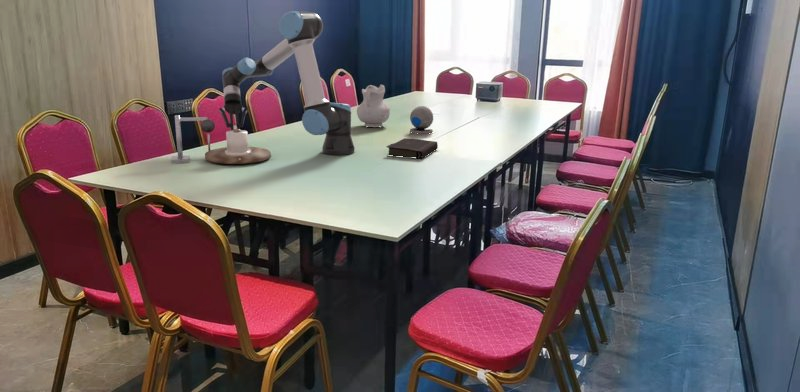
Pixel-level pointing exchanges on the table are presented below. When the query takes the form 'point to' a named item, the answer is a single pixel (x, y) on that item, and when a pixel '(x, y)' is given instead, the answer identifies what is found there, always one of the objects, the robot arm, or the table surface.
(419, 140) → the diary
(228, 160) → the turntable
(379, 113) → the ceramic pitcher
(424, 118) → the webcam
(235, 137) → the canister
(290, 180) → the table surface
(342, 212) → the table surface
